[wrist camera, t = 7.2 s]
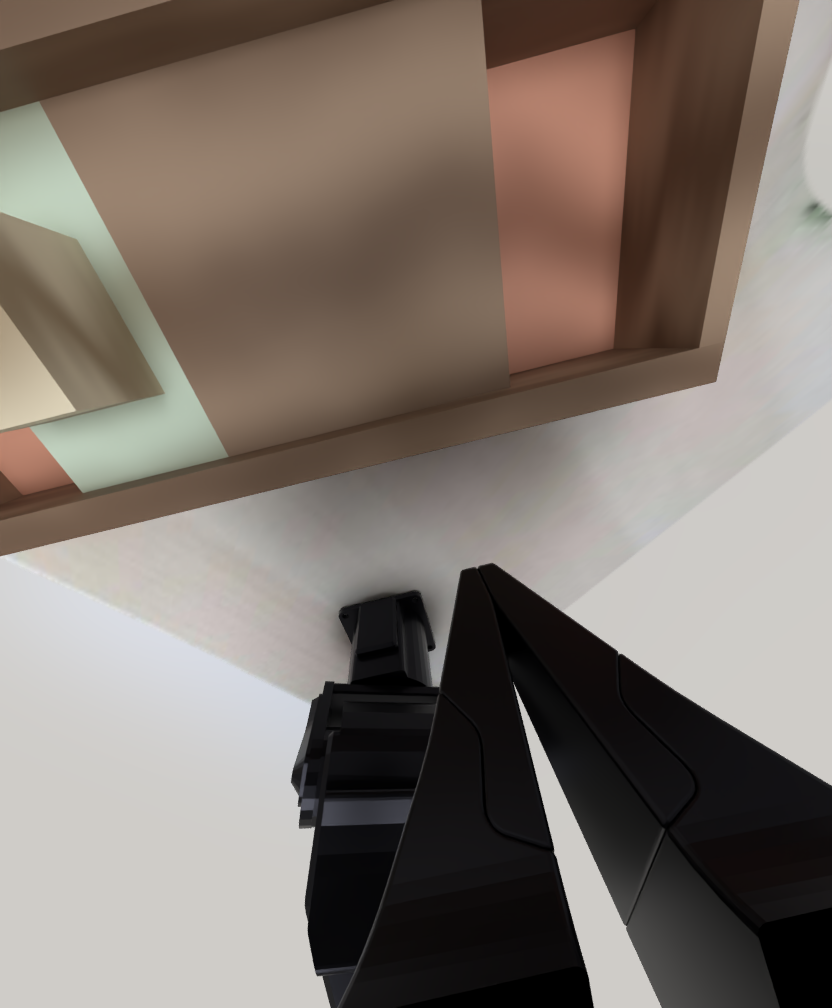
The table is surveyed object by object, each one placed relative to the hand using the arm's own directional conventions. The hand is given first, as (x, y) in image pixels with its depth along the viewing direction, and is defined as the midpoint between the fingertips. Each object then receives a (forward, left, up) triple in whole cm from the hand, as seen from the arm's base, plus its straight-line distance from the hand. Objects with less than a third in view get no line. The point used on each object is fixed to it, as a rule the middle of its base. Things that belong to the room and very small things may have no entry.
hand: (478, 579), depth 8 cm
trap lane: (+8, +6, -12) cm, 16 cm away
